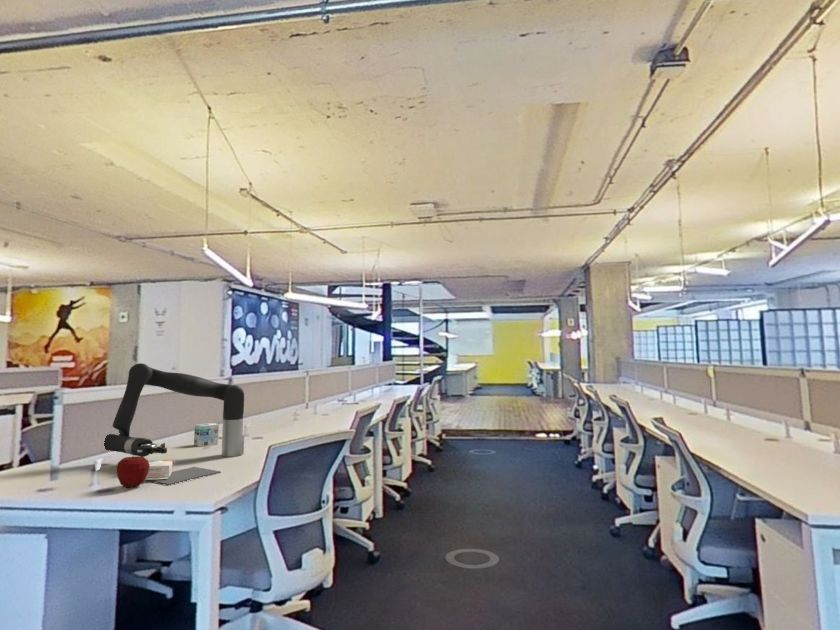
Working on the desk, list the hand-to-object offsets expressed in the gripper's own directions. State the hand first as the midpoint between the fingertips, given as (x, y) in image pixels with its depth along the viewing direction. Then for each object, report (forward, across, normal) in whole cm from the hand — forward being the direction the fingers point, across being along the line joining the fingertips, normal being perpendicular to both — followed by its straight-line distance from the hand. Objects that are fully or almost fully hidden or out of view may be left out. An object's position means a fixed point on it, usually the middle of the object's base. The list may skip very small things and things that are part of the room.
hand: (165, 450), depth 218 cm
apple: (+9, -20, +9) cm, 24 cm away
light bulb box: (-37, +52, +9) cm, 64 cm away
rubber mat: (+11, 0, +9) cm, 14 cm away
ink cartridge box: (-1, -1, +6) cm, 6 cm away
